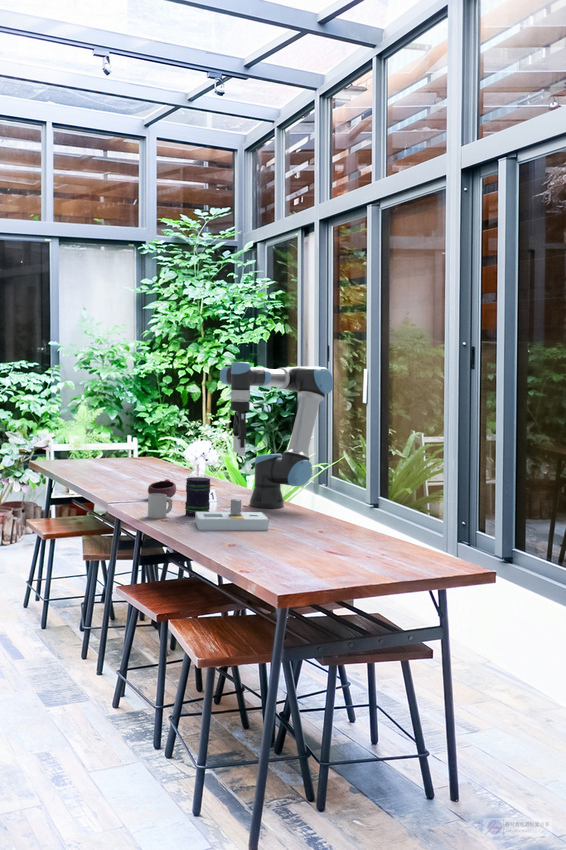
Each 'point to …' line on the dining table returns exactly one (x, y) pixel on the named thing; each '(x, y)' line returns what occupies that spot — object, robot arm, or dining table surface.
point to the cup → (158, 505)
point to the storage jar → (197, 495)
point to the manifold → (231, 521)
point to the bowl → (163, 488)
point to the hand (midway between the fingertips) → (239, 454)
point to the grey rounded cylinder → (235, 507)
